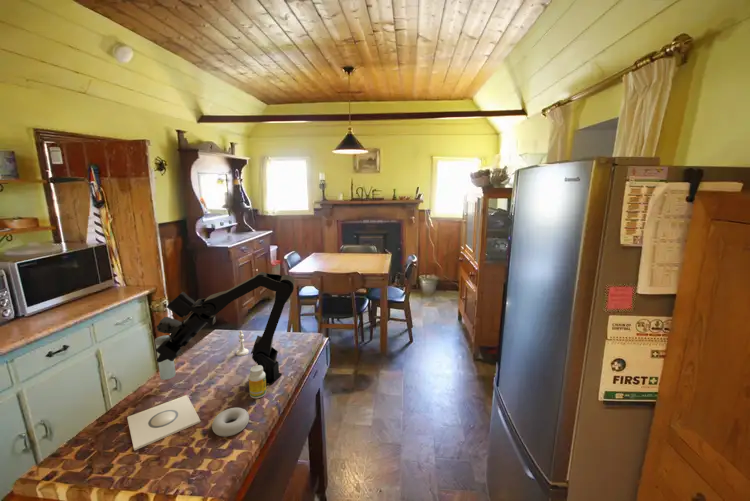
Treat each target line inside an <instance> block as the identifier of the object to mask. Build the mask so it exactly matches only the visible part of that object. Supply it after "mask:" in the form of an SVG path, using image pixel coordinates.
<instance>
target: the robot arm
mask: <svg viewBox="0 0 750 501" xmlns="http://www.w3.org/2000/svg"><path fill="white" fill-rule="evenodd" d="M295 286H296V280H295V278H294V277H293V276H292V275H289V274H284V275H281V274H275V273H268V272H264V271H261V272H258V273H257V274H256V275H253V276H252V277H250V278H248V279H246V280H245V281H243V282H241V283H238V284H237V285H235V286H232V287H231V288H229V289H228V290H223V291H219V292H217V293H213V294H211V295H209V296H208V297H206V298H199V299H197V300H196V301H195V300H194V299H193V298H191V297H190V296H189V295H188V294H187V293H186V292H184V291H182V292H181V293H180V294H178V295H177V296H176V297H175V298H174V299H173V300H171V301H170V302H169V303H168V304H167V305H166V308H167V309H168V310H170V311H171V312H172V313H173V314H175V315H176V316H178V317H179V318H186V317H187V318H186V319H184V320H183V321H179V320H178V319H175V318H172V317H170V316H164V317H163V318H162V319H160V320H159V322H158V325H156V330H157V331H158V332H159V333H162V334H168V335H169V337H171V338H172V340H171V341H169V340H166V341H164V342H163V343H162V344H161V345H160V346H159V347H158V348H157V349H156V348H155V351H156V353H157V352H158V353H159V354H160V355H159V357H157V358H156V362H157V363H158V362H162V361H164V360H167V359H168V360H170V361H173V360H174V361H175V360H176V359H177V358H178V356H179V355H180V354H181V353H182V350H181V348H182V347H186V345H188V343H190V341H191V340H192V339H193V338H195V336H196V335H197V334H198V333H199V332H200V331H201V330H202V328H204V327H205V326H206V324H209V325H211V326H214V324H215V323H216V321H217V319H216V315H217V314H218V313H220V312H221V311H222V310H224V309H225V308H226V307H227V306H228V305H229V304H230V303H232V302H234V301H236V300H238V299H239V298H240V297H243V296H245V295H247V294H248V293H250V292H252V291H254V290H255V289H258V288H260V287H261V288H262V287H263V288H265V289H268V290H270V291H272V292H275V293H274V294H275V295H274V302H273V305H272V308H271V311H270V313H269V316H268V319H267V322H266V325H265V328H264V331H263V333H262V335H257V336H256V339H255V341H254V345H253V347H252V349H251V352H250V354H252V355H251V359H252V360H253V362H255V363H256V365H261V366H263V371H264V372H265V375H266V384H268V385H273V384H274V383H275V382H276V381H277V380H278V379H279V378H280V377H281V376H282V374H283V373H282V372H280V366H279V361H277V358H278V353H279V351H278V350H277V349H276V348H274V347H273V342H274V336H275V332H276V329H277V326H278V323H279V322H280V318H281V316H282V313H283V311H284V309H285V308H284V307H285V305H286V303H287V302H288V301H289V299H290V298H291V295H292V293H293V292H294V288H295ZM191 312H192V313H191ZM189 314H190V315H189ZM188 315H189V316H188Z"/></svg>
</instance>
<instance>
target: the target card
mask: <svg viewBox="0 0 750 501" xmlns="http://www.w3.org/2000/svg"><path fill="white" fill-rule="evenodd" d="M127 423H128V428H129V433H130V438H131V442H132V447H133V450H134V451H137V450H139V449H141V448H144V447H146V446H148V445H151V444H153V443H155V442H158V441H160V440H162V439H164V438H167V437H170V436H171V435H174V434H176V433H178V432H181V431H183V430H185V429H187V428H190V427H193V426H195V425H197V424H200V423H201V419H200V417H199V415H198V413H197V411H196V409H195V407H194V405H193V402H192V401H191V400H190V398H189V395H188V394H185V395H183V396H181V397H178V398H175V399H173V400H170V401H166V402H164V403H162V404H158V405H155V406H152V407H151V408H148V409H145V410H142V411H139V412H137V413H134V414H132V415H129V416H127Z"/></svg>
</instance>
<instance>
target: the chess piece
mask: <svg viewBox="0 0 750 501" xmlns="http://www.w3.org/2000/svg"><path fill="white" fill-rule="evenodd" d="M244 336H245V335H244V332H243V331H242V330H240V331H239V332H238V338H239V340H238V342H239V344H240V345H239V347H240V348H239V349H238V350H236V356H240V357H242V356H246V355H248V354H249V353H250V352H249V349H248V348H245V344H244V342H245V339H244Z"/></svg>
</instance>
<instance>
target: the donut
mask: <svg viewBox="0 0 750 501" xmlns="http://www.w3.org/2000/svg"><path fill="white" fill-rule="evenodd" d="M249 422H250V414H249V412H248V411H247V410H246V409H245V408H242V407H230V408H227V409H225V410H222V411H221V412H220V413H218V414H217V415H216V416H215V417H214V419H213V420H212V423H211V429H212V432H213V433H214V434H215V435H217V436H219V437H225V438H226V437H232V436H234V435H237V434H239V433H240V432H242V431H243V430H245V428H246V427H247V425H248V424H249Z"/></svg>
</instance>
